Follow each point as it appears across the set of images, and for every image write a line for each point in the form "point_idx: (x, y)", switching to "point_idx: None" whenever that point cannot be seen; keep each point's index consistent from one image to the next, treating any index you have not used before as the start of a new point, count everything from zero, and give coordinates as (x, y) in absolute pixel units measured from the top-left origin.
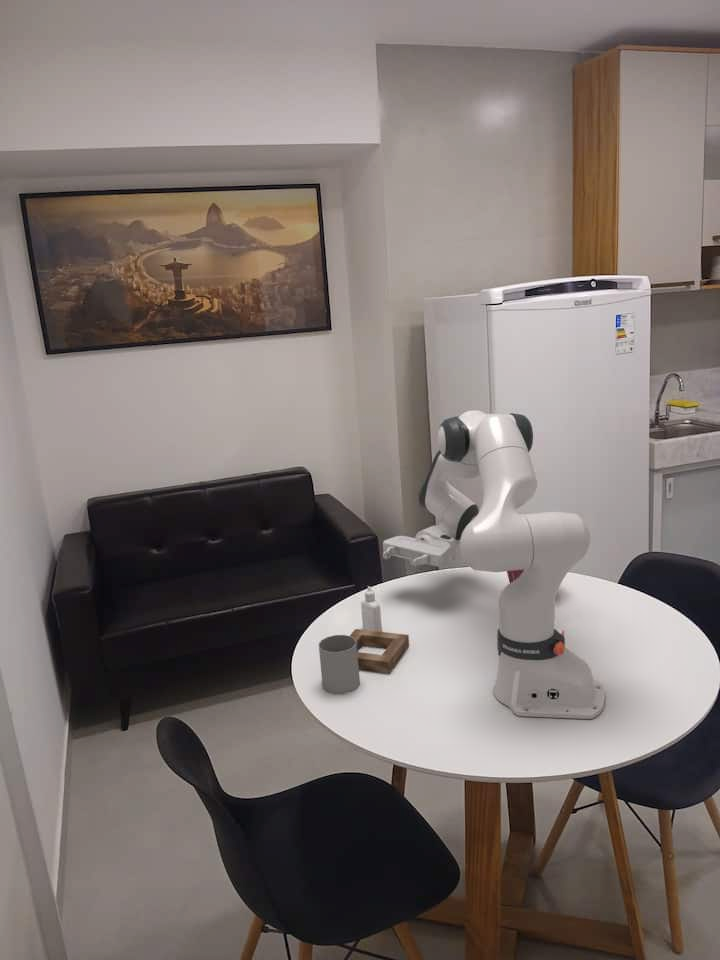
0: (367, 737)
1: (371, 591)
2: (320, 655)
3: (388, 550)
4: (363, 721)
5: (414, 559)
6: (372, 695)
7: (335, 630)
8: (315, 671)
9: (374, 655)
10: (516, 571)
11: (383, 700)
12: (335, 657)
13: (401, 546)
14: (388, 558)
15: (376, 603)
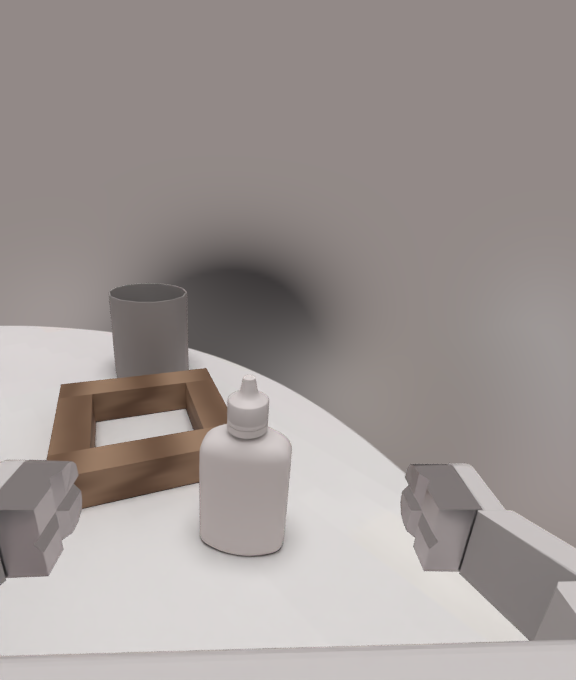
0: (45, 331)
1: (237, 394)
2: (171, 298)
3: (500, 517)
4: (65, 342)
5: (18, 468)
6: (76, 370)
7: (345, 482)
8: (226, 376)
9: (110, 388)
10: None
11: (48, 368)
12: (135, 293)
13: (460, 645)
14: (407, 520)
15: (211, 435)
